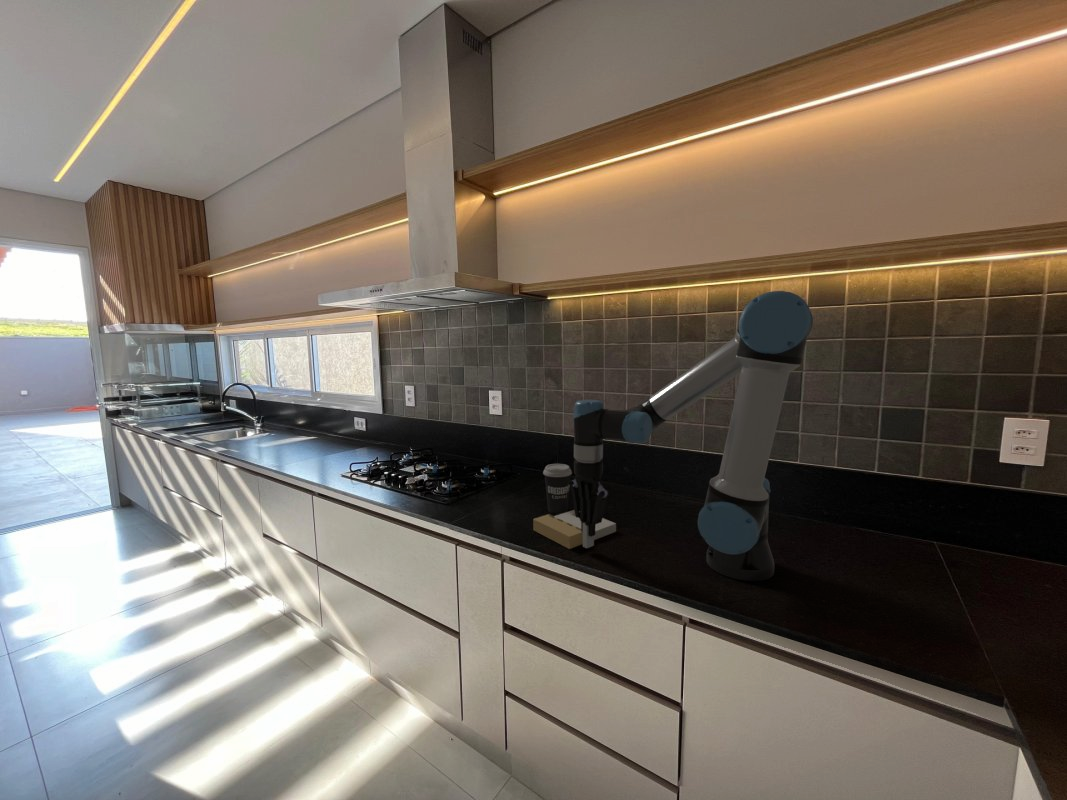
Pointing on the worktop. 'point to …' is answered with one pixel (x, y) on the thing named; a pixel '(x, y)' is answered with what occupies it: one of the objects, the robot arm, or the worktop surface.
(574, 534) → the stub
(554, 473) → the coffee cup
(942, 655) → the worktop surface
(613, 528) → the flat white box
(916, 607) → the worktop surface
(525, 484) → the worktop surface
